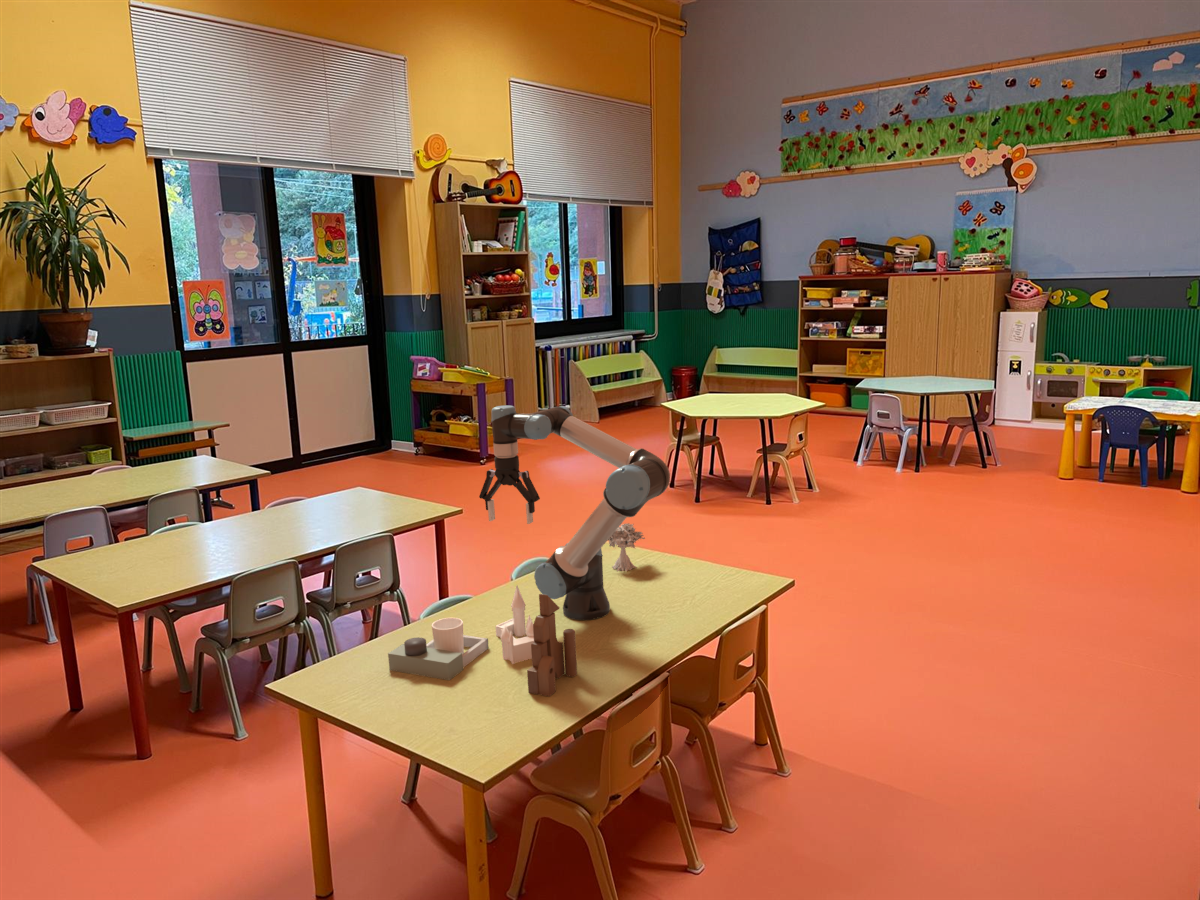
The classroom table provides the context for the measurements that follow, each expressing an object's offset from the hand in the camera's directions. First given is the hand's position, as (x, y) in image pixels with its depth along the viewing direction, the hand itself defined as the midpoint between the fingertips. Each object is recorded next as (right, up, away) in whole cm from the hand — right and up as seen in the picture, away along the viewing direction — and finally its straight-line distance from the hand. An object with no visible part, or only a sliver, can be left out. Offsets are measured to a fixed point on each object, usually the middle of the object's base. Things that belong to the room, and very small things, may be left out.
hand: (510, 521), depth 279 cm
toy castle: (+3, -36, -16) cm, 39 cm away
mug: (-15, -37, -21) cm, 46 cm away
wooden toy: (+16, -40, -42) cm, 60 cm away
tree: (+37, -21, +49) cm, 65 cm away
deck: (-18, -38, -24) cm, 48 cm away
